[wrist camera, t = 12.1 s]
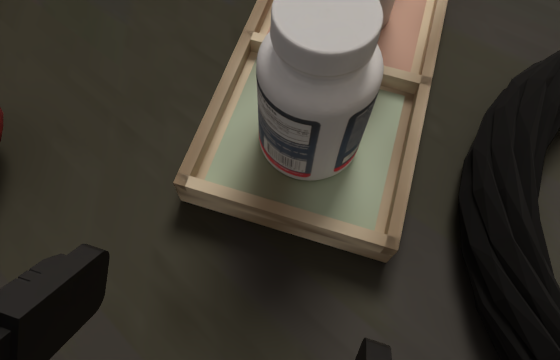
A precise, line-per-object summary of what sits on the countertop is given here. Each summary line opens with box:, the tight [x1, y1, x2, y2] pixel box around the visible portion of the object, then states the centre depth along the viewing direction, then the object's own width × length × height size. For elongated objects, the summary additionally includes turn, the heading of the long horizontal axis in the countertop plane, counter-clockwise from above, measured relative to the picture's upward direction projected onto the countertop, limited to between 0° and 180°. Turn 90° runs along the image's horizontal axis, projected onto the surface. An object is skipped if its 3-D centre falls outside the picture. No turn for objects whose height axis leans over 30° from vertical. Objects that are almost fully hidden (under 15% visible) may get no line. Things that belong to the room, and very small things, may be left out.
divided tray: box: [173, 0, 448, 263], centre depth 26 cm, size 11×20×2 cm, turn 163°
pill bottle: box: [256, 0, 384, 181], centre depth 19 cm, size 5×5×9 cm
